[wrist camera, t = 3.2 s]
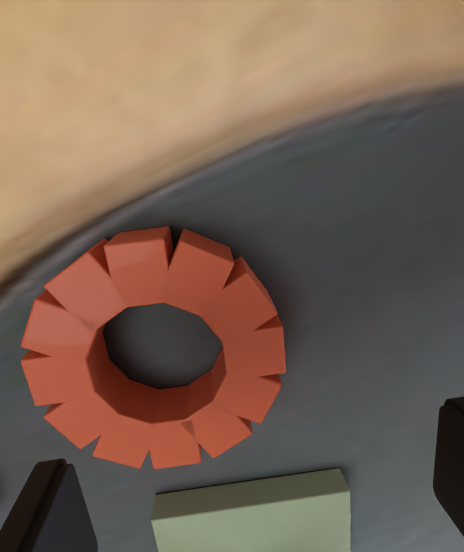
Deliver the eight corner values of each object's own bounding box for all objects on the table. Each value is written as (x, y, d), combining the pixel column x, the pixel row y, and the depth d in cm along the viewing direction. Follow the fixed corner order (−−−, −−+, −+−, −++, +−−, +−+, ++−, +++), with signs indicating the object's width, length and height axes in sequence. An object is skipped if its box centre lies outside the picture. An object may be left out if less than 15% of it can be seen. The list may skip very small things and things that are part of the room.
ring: (19, 243, 14) (-15, 259, 12) (265, 214, 15) (276, 224, 13) (79, 441, 18) (60, 483, 15) (280, 413, 18) (291, 450, 16)
